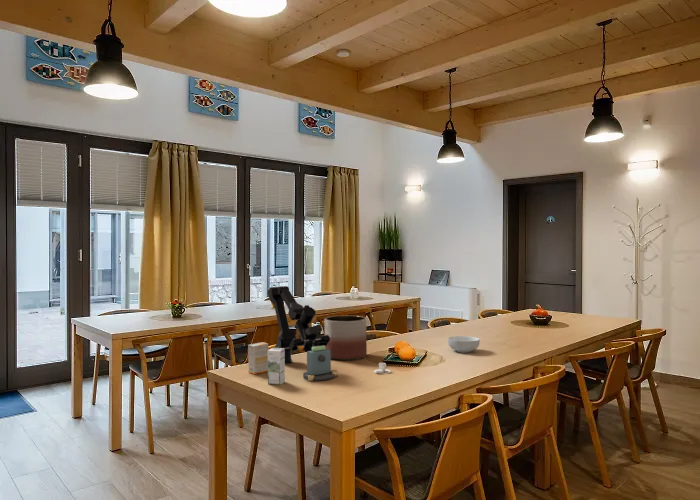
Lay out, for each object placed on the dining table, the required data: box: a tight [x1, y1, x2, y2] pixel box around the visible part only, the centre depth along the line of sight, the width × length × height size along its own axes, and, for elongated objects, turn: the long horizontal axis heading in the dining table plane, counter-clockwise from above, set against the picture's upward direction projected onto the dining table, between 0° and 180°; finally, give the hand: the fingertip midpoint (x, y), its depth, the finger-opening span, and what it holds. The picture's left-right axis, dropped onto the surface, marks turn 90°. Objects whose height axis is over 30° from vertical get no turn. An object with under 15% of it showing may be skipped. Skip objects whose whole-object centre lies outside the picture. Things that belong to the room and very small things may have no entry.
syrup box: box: [267, 347, 286, 386], centre depth 214 cm, size 6×6×14 cm
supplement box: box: [247, 341, 269, 375], centre depth 232 cm, size 8×5×13 cm, turn 134°
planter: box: [324, 314, 368, 361], centre depth 263 cm, size 22×22×20 cm
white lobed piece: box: [373, 362, 392, 375], centre depth 232 cm, size 9×8×4 cm
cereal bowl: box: [447, 335, 480, 354], centre depth 274 cm, size 17×17×7 cm
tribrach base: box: [302, 369, 339, 383], centre depth 224 cm, size 15×15×2 cm
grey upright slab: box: [306, 345, 332, 375], centre depth 222 cm, size 6×10×12 cm, turn 123°
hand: (316, 358), depth 225 cm, fingers closed, pressing on grey upright slab
